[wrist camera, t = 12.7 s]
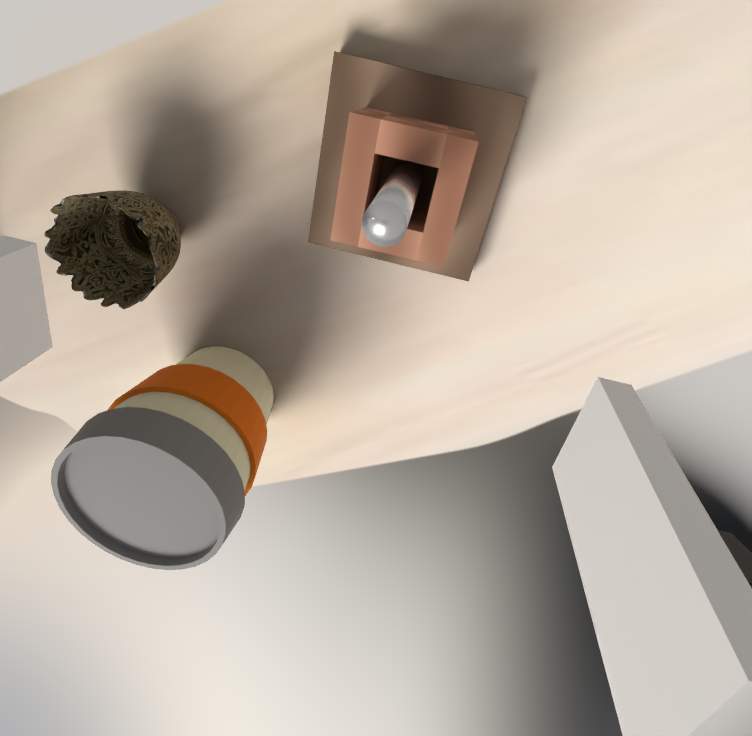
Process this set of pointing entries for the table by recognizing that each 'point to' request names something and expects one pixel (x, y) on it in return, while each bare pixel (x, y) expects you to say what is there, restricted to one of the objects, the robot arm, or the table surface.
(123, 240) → the cup
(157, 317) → the table surface
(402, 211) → the silver metal rod
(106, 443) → the reusable coffee cup
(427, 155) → the brown open box
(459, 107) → the brown square board
